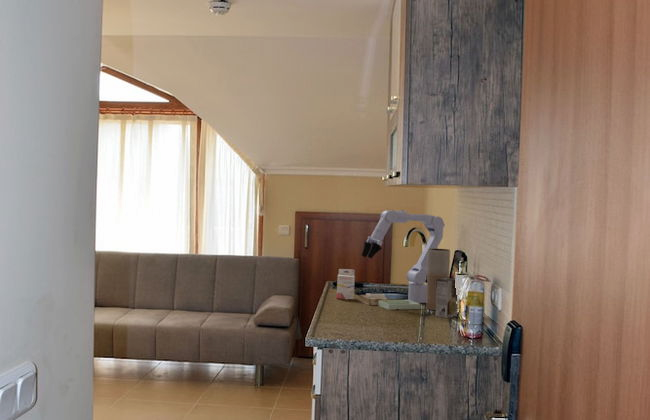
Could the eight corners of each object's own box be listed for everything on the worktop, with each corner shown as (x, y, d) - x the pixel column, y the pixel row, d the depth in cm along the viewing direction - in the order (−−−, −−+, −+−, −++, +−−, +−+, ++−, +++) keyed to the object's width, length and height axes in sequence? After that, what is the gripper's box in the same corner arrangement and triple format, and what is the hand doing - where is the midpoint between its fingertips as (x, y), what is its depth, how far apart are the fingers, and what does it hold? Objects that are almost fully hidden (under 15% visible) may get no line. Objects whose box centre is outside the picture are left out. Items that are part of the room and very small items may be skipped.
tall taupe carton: (451, 310, 289) (453, 250, 289) (431, 311, 286) (433, 249, 286) (442, 307, 298) (444, 248, 298) (422, 307, 296) (424, 248, 296)
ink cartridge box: (336, 299, 314) (337, 269, 314) (337, 297, 319) (338, 268, 319) (353, 299, 313) (354, 270, 313) (354, 298, 318) (355, 269, 318)
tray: (408, 305, 302) (409, 300, 302) (420, 309, 291) (420, 304, 291) (378, 305, 297) (378, 300, 297) (388, 309, 286) (388, 304, 286)
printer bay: (376, 300, 313) (376, 294, 313) (387, 304, 300) (387, 298, 300) (358, 301, 310) (359, 294, 310) (369, 305, 297) (369, 298, 297)
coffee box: (446, 314, 279) (448, 277, 279) (459, 316, 275) (460, 279, 275) (434, 315, 273) (435, 278, 273) (447, 318, 268) (448, 280, 268)
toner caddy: (380, 302, 309) (381, 292, 309) (385, 304, 304) (385, 293, 304) (365, 302, 306) (366, 292, 306) (369, 304, 302) (370, 293, 302)
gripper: (367, 228, 312) (354, 251, 310) (379, 228, 298) (365, 253, 296) (378, 235, 314) (365, 259, 312) (390, 236, 300) (377, 261, 298)
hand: (366, 257), depth 304 cm, fingers open, 7 cm apart
